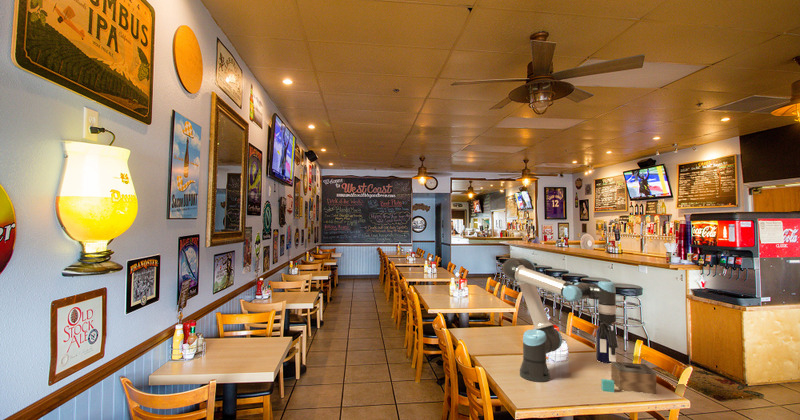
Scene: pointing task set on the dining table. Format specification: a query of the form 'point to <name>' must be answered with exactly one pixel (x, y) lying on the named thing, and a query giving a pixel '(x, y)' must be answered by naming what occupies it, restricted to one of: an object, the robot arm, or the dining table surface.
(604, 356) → the bottle
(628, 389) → the coin box
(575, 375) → the dining table surface
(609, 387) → the teal flat square block
